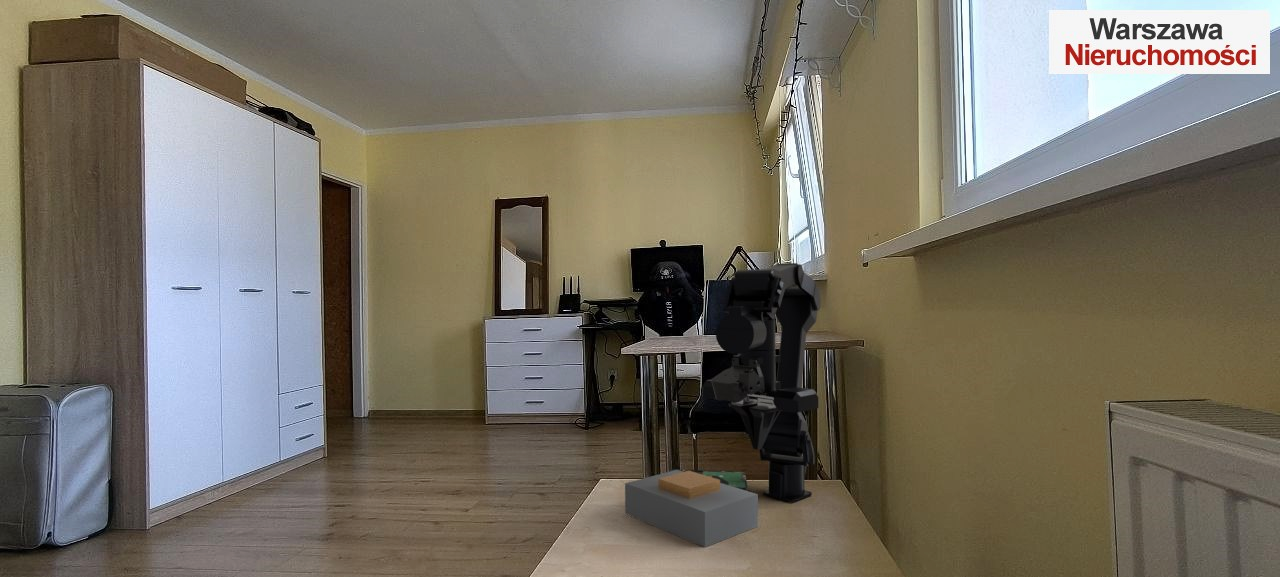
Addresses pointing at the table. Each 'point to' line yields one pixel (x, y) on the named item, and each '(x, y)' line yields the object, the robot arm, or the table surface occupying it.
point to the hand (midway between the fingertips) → (757, 449)
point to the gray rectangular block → (693, 510)
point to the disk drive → (725, 477)
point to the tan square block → (689, 484)
